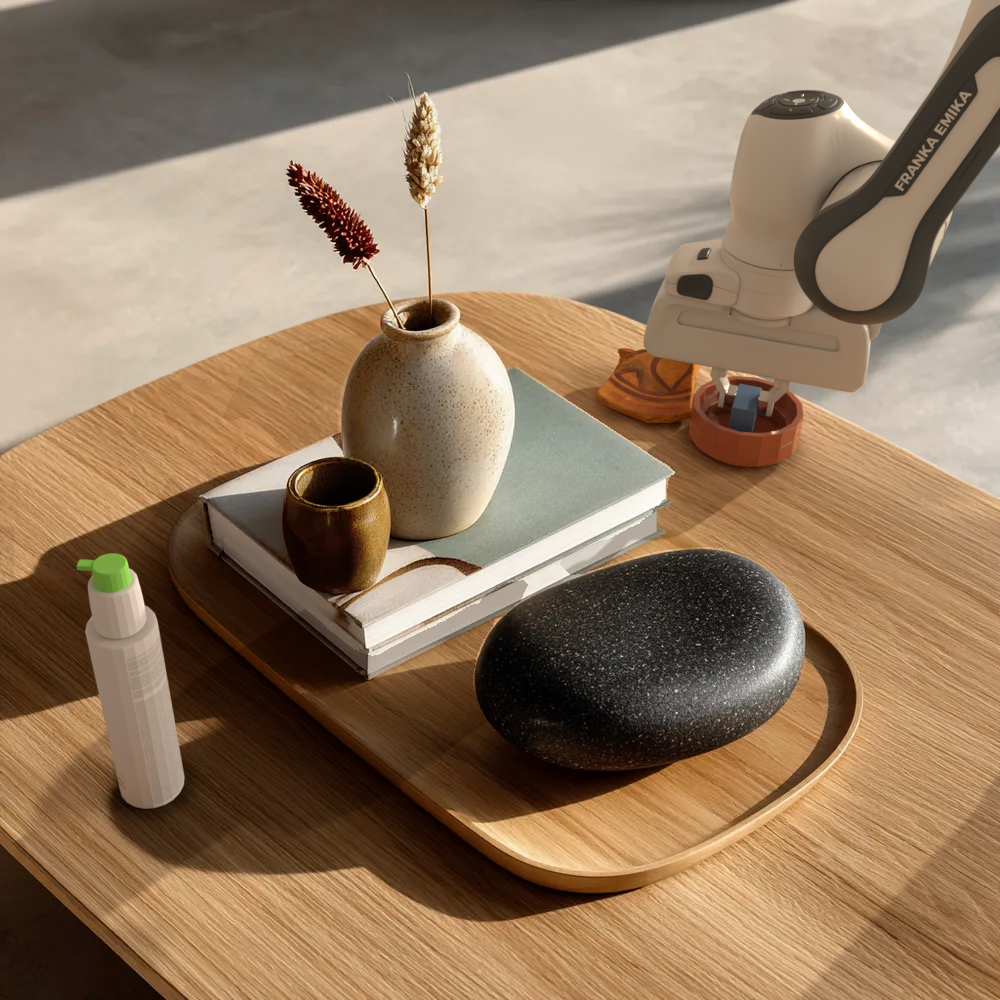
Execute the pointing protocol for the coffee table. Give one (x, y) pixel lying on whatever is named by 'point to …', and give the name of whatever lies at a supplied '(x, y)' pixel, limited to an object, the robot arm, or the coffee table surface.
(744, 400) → the eraser
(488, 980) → the coffee table surface
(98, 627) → the bottle
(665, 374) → the pottery fragment
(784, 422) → the bowl
